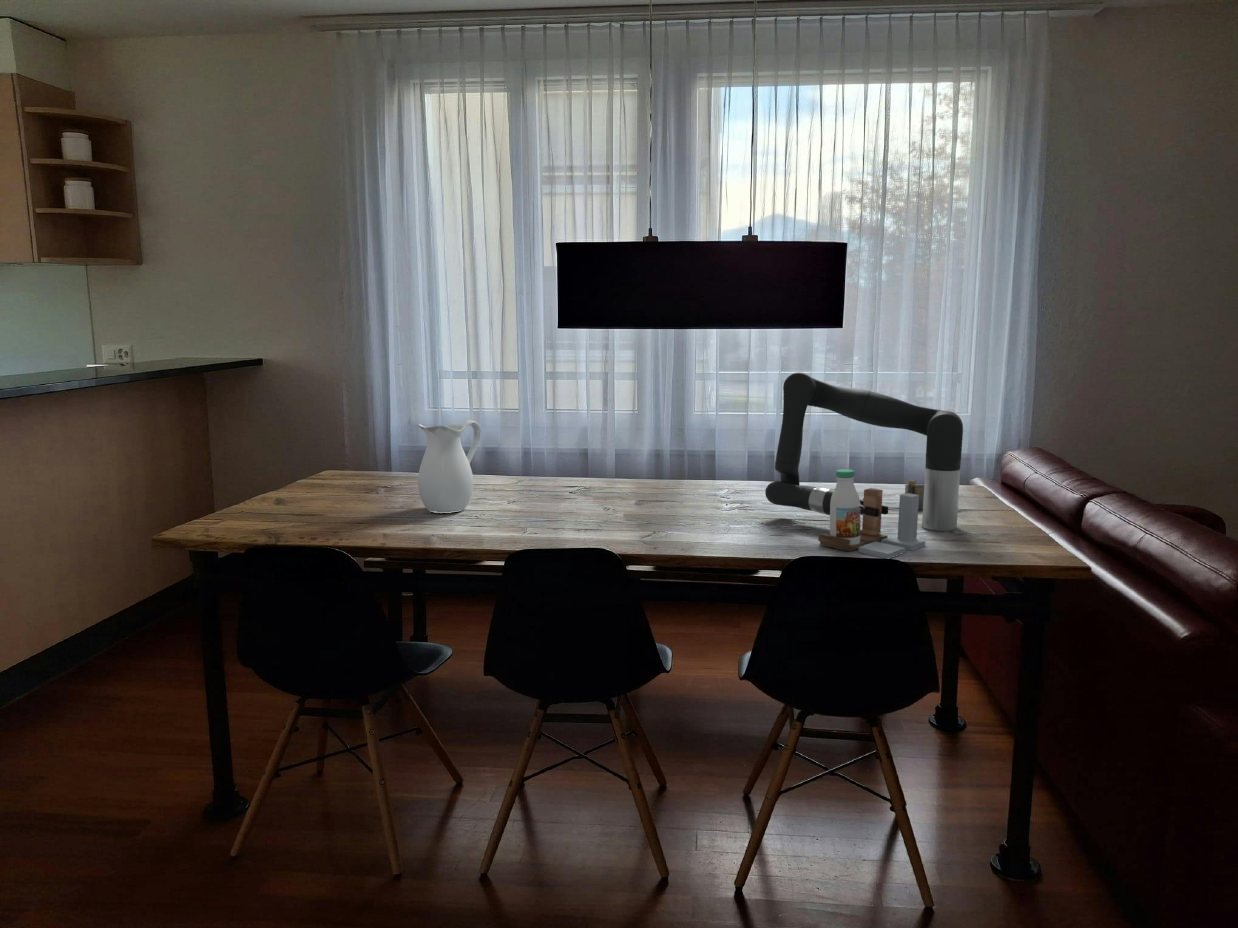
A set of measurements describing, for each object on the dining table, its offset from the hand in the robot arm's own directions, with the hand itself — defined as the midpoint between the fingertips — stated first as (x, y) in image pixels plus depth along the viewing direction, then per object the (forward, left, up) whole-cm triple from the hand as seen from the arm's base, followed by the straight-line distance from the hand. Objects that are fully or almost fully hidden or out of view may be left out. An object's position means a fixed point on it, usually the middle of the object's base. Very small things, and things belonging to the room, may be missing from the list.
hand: (883, 511), depth 227 cm
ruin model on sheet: (-45, -12, -9) cm, 47 cm away
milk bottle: (+13, -3, -8) cm, 15 cm away
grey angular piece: (+6, +7, -8) cm, 12 cm away
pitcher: (+66, -111, -8) cm, 130 cm away
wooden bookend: (+8, -3, -8) cm, 12 cm away
